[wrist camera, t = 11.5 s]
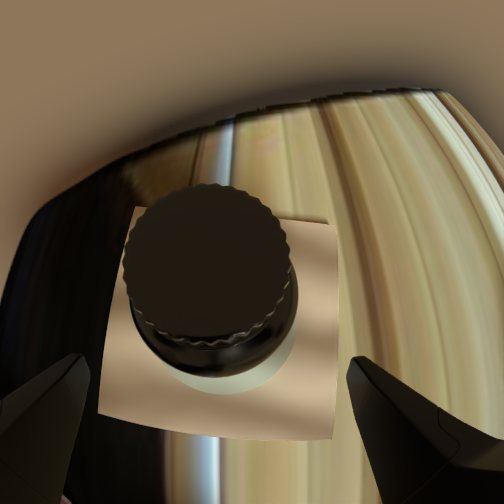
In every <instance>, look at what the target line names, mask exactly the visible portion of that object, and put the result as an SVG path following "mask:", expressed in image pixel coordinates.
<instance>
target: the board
mask: <svg viewBox="0 0 504 504" xmlns="http://www.w3.org/2000/svg"><path fill="white" fill-rule="evenodd" d="M146 208H147V207H136V206H135V209H134V213H133V216H132V220H131V223H130V227H129V231H128V234H127V238H126V242H125V244H126V243H127V241H128V240H129V232H130V231H131V229H132V228H133V227H134V226H135V223H136V220H137V219H138V218H139V217H140V216H142V215H143V214H144V212H145V210H146ZM279 221H280V226H281V228H282V229H283V230H284V231H285V233H286V235H287V239H286V242H287V244H288V245H289V247H290V255H289V257H290V259H291V261H292V264H293V266H294V269H295V272H296V276H297V281H298V290H299V299H298V308H297V313H296V317H295V320H294V323H293V326H292V328H291V330H290V332H289V334H288V336H287V338H286V339H285V340H284V342H283V343H282V345H281V346H280V347H279V348H278V349H277V351H276V352H275V353H274V354H272V355H271V356H270V357H269V358H268V359H267V360H265V361H264V362H263V363H261V364H260V365H258V366H256V367H255V368H253V369H251V370H249V371H247V372H244V373H241V374H238V375H234V376H230V377H222V378H207V377H199V376H194V375H190V374H187V373H184V372H181V371H179V370H177V369H175V368H173V367H171V366H169V365H168V364H166V363H165V362H163V361H162V360H161V359H159V358H158V357H157V356H156V355H155V354H154V353H153V352H152V351H151V350H150V349H149V348H148V347H147V345H146V344H145V343H144V341H143V340H142V338H141V337H140V335H139V333H138V331H137V329H136V327H135V324H134V322H133V319H132V315H131V311H130V304H129V296H128V295H127V292H126V284H125V282H124V280H123V278H122V277H123V272H124V268H123V265H122V260H123V257H124V255H125V252H124V250H123V254H122V258H121V262H120V266H119V271H118V275H117V280H116V284H115V289H114V294H113V299H112V304H111V310H110V315H109V321H108V327H107V333H106V340H105V347H104V354H103V362H102V371H101V381H100V392H99V405H98V413H100V414H103V415H107V416H110V417H114V418H117V419H121V420H125V421H129V422H133V423H137V424H142V425H146V426H151V427H155V428H160V429H166V430H171V431H177V432H183V433H190V434H196V435H204V436H212V437H222V438H233V439H247V440H269V441H305V440H328V439H332V436H333V426H334V415H335V402H336V387H337V368H338V338H339V281H338V250H337V230H336V225H328V224H320V223H311V222H303V221H294V220H285V219H279Z"/></svg>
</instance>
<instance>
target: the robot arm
mask: <svg viewBox="0 0 504 504" xmlns="http://www.w3.org/2000/svg"><path fill="white" fill-rule="evenodd" d="M89 380H90V371H89V369H88V366H87V364H86V361H85V358H84V356H83V355H82V354H77V353H71V354H69V355H68V356H66V357H65V358H63V359H62V360H60V361H59V362H57V363H56V364H54V365H53V366H51V367H50V368H48V369H47V370H45V371H44V372H42V373H41V374H39V375H38V376H36V377H35V378H33V379H32V380H30V381H29V382H27V383H26V384H24V385H23V386H21V387H20V388H18V389H17V390H15V391H14V392H13V393H11V394H10V395H8V396H7V397H5V398H4V399H3V400H1V401H0V504H61V498H62V493H63V488H64V483H65V479H66V474H67V470H68V466H69V461H70V457H71V453H72V450H73V446H74V442H75V438H76V435H77V431H78V428H79V424H80V421H81V418H82V414H83V410H84V405H85V399H86V394H87V390H88V385H89ZM346 380H347V385H348V389H349V394H350V398H351V403H352V408H353V412H354V416H355V420H356V423H357V426H358V429H359V432H360V435H361V438H362V440H363V443H364V446H365V449H366V452H367V456H368V459H369V462H370V465H371V468H372V471H373V474H374V477H375V480H376V484H377V487H378V490H379V493H380V497H381V500H382V503H383V504H504V440H501V439H497V438H494V437H492V436H490V435H488V434H486V433H484V432H482V431H480V430H478V429H476V428H474V427H472V426H470V425H468V424H466V423H464V422H463V421H461V420H459V419H457V418H456V417H454V416H452V415H451V414H449V413H448V412H446V411H445V410H443V409H442V408H440V407H438V406H437V405H435V404H434V403H432V402H431V401H429V400H428V399H426V398H425V397H424V396H422V395H421V394H419V393H418V392H416V391H415V390H413V389H412V388H410V387H409V386H407V385H406V384H404V383H403V382H401V381H400V380H399V379H397V378H396V377H394V376H393V375H391V374H390V373H388V372H387V371H385V370H384V369H383V368H381V367H380V366H378V365H377V364H375V363H374V362H372V361H371V360H370V359H368V358H367V357H365V356H357V357H353V358H352V359H351V362H350V365H349V368H348V371H347V375H346Z"/></svg>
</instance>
